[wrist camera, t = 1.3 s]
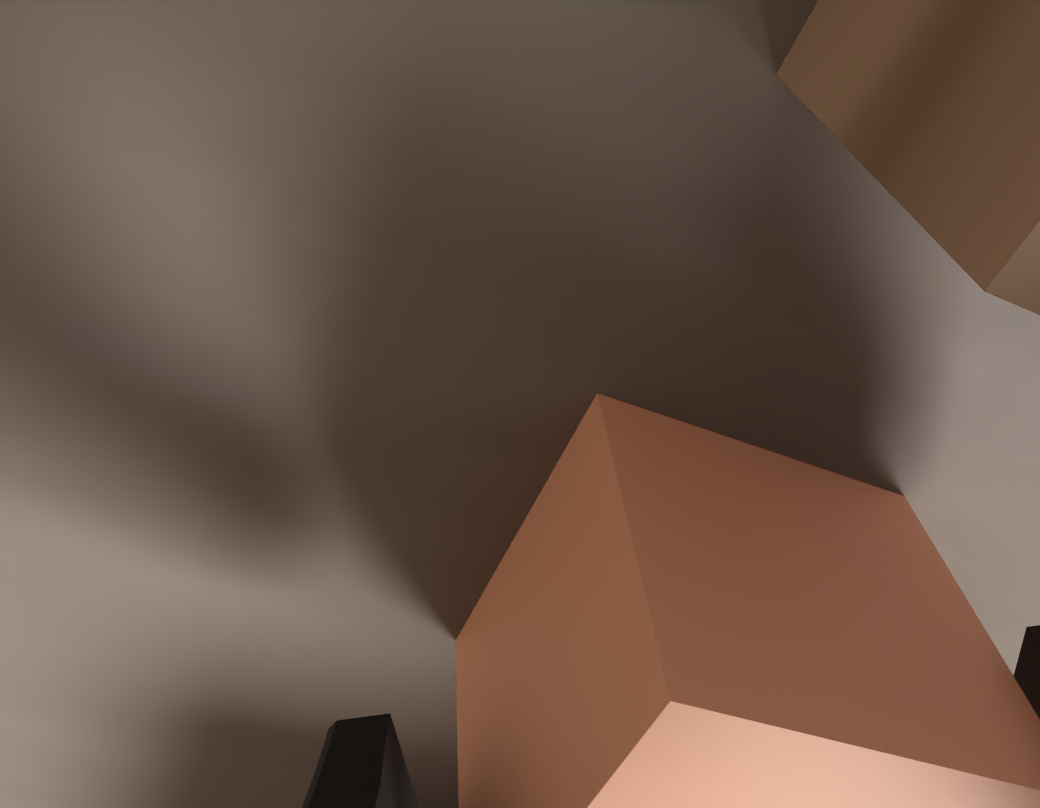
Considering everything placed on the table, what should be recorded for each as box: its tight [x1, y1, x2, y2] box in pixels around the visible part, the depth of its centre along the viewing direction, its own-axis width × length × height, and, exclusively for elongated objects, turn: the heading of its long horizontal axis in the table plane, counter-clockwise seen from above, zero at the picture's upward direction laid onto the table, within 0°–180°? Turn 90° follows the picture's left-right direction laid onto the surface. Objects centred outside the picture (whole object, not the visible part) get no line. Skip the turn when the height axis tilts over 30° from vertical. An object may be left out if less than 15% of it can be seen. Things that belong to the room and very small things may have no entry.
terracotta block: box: [456, 393, 1040, 808], centre depth 11 cm, size 4×4×4 cm
